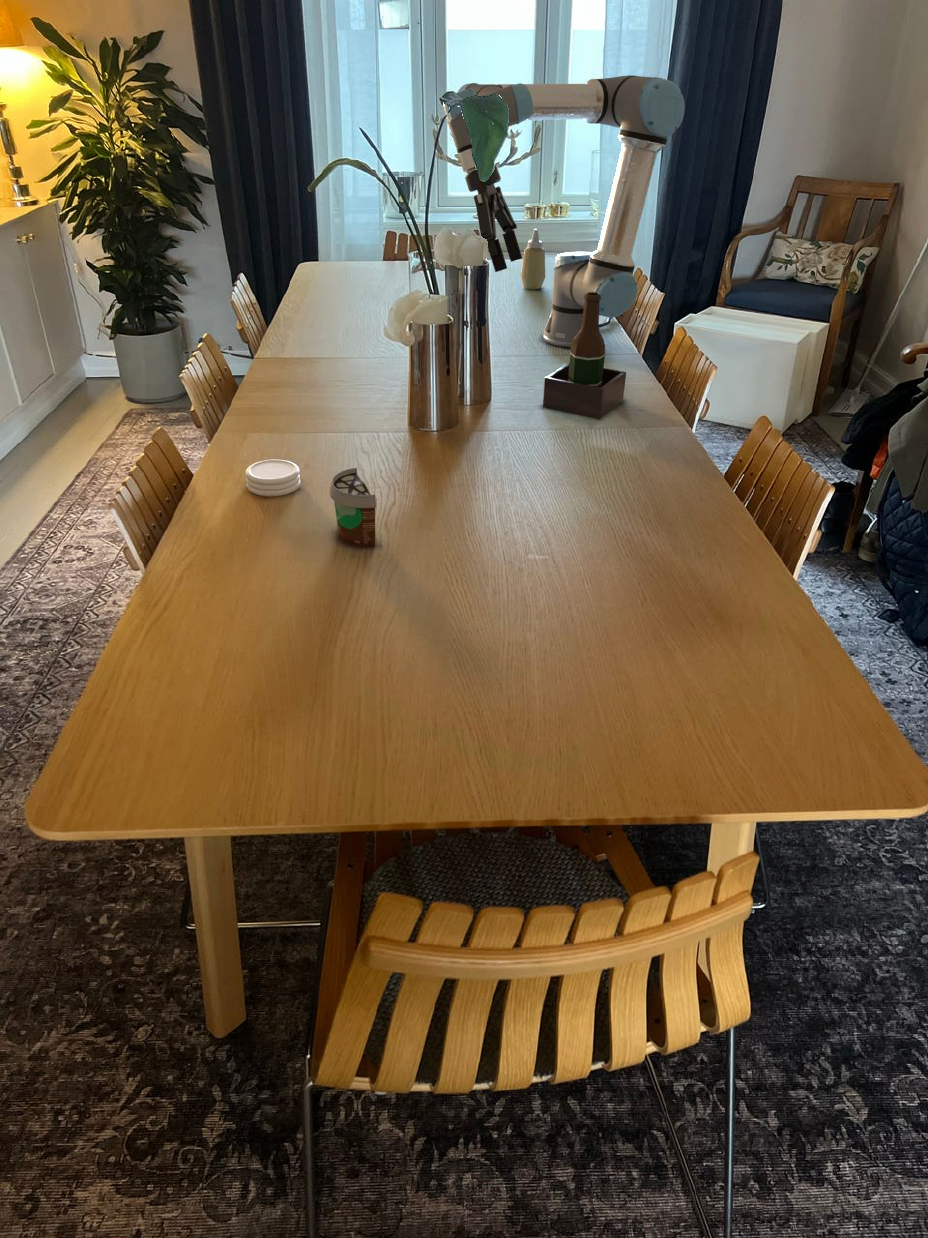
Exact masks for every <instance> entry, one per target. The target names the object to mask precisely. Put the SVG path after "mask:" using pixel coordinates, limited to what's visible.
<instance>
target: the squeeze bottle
mask: <svg viewBox="0 0 928 1238" xmlns="http://www.w3.org/2000/svg"><path fill="white" fill-rule="evenodd" d="M523 250H524V251H523V256H522V264H521V271H520V277H521V282H522V286H523V289H528V290H540V289H542V287H543V284H544V283H545V279H546V251H545V249H544V248H543V241H542V240H540V236H539V229H538V228H534V229H533V232H532V236H531V239H529V240H527V247H526V248H525V249H523Z"/></svg>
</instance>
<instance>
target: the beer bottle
mask: <svg viewBox="0 0 928 1238" xmlns="http://www.w3.org/2000/svg"><path fill="white" fill-rule="evenodd" d="M584 299H585V303H584V310H583V317H582V324H581V327H580V331H579V332H578V333H577V335H576V336H575V337H574V340H573V342H572V344H571V348H570V349H569V350H570V352H569V362H568V363H569V374H568V381H569V382H574V383H579V384H584V385H589V386H595V387H600V388H601V387H602V379H603V369H604V368H605V358H606V344H605V339H604V337H603V335H602V334H601V331H600V328H599V324H600V315H599V302H600V300H601V295H600V294H598V293H595V292H588V293H586V294H585V296H584Z"/></svg>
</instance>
